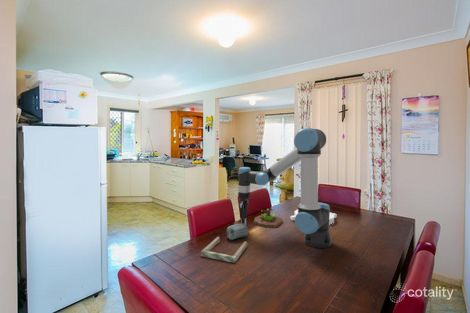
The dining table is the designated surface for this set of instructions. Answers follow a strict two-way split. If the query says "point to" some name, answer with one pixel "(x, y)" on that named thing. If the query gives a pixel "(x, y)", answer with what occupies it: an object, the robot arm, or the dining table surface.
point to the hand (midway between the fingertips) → (243, 227)
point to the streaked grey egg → (237, 231)
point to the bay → (219, 256)
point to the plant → (268, 220)
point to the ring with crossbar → (331, 217)
